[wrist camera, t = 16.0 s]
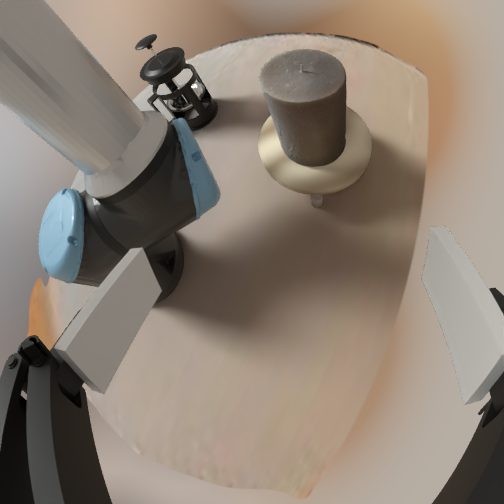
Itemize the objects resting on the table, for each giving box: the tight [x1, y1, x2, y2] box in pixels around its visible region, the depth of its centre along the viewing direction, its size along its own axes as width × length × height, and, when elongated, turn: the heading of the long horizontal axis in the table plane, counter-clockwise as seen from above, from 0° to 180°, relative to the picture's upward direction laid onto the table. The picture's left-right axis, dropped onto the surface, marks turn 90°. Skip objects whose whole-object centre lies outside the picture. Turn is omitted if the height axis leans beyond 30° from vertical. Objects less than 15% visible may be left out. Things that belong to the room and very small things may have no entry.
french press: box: [135, 34, 218, 131], centre depth 44 cm, size 12×9×23 cm
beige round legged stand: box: [258, 106, 372, 208], centre depth 42 cm, size 17×17×8 cm
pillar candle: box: [259, 49, 346, 167], centre depth 31 cm, size 10×10×15 cm
